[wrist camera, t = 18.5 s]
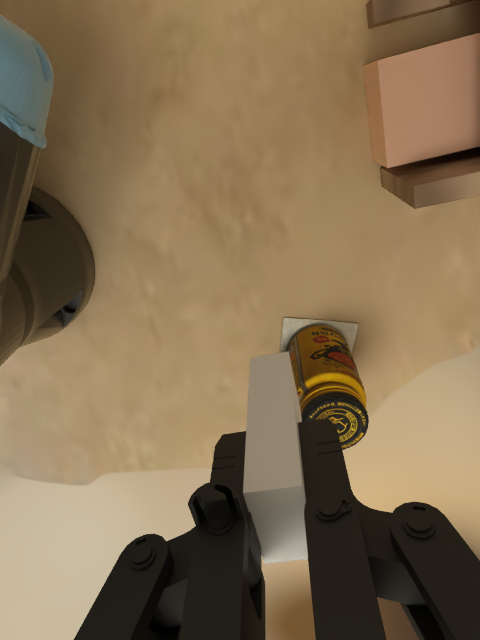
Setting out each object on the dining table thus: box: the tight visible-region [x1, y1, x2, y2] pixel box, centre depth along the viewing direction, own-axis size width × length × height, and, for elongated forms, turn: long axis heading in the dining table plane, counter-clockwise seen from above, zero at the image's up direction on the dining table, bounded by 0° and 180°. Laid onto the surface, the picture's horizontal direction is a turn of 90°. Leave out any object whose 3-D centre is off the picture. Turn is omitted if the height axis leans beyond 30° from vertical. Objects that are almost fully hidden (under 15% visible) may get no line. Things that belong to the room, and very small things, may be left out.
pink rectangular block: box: [363, 33, 480, 168], centre depth 32 cm, size 13×7×5 cm, turn 104°
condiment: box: [279, 318, 369, 450], centre depth 39 cm, size 7×8×12 cm
